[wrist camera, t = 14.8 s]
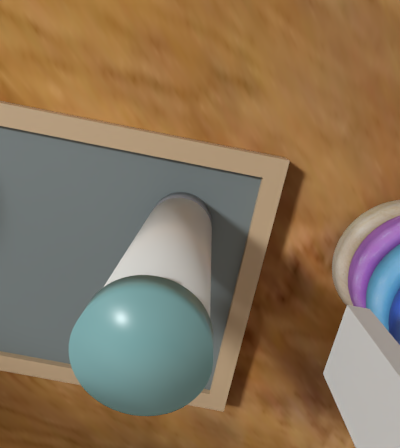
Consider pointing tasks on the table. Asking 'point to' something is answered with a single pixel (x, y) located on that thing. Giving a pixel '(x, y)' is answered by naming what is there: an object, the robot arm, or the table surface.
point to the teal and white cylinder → (152, 316)
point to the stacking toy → (372, 264)
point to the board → (117, 229)
